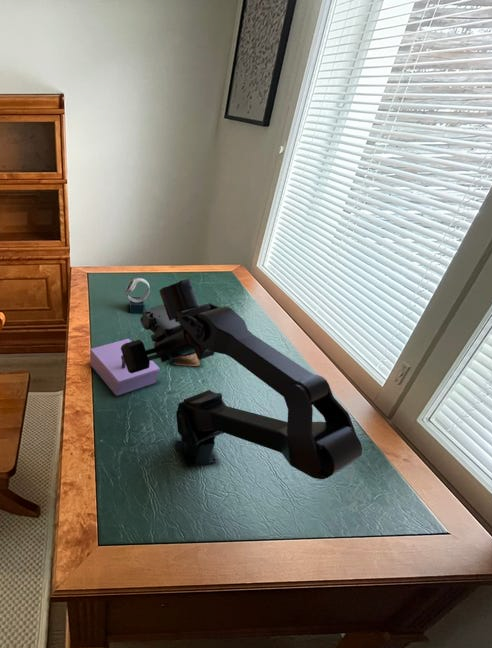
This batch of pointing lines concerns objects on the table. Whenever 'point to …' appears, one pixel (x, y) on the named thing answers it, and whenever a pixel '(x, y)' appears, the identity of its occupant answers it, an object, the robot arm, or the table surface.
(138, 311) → the watch
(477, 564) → the table surface
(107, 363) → the purple square slab
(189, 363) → the sunglasses case
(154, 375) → the box
